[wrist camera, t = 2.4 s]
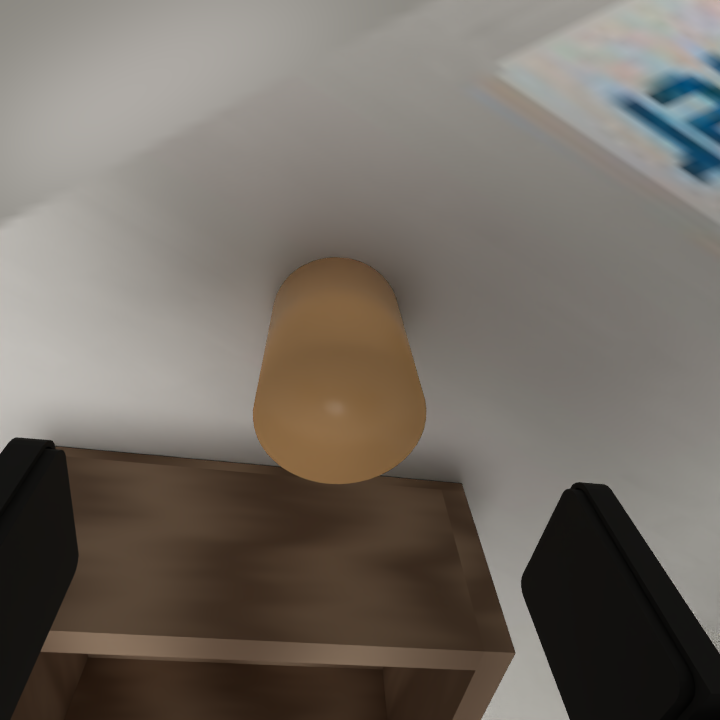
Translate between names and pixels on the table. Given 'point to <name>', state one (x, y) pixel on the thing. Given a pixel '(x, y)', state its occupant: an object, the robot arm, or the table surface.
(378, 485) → the housing
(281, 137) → the table surface
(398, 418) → the peg
